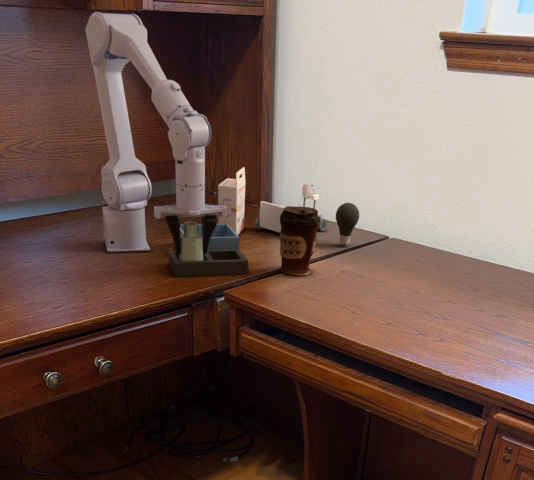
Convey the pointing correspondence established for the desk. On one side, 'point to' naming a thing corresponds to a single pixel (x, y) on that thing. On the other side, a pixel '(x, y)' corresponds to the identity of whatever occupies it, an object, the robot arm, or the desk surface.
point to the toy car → (272, 211)
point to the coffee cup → (297, 238)
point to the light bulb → (346, 221)
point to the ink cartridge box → (233, 201)
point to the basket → (220, 237)
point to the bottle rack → (210, 263)
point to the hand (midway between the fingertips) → (191, 252)
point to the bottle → (191, 243)
